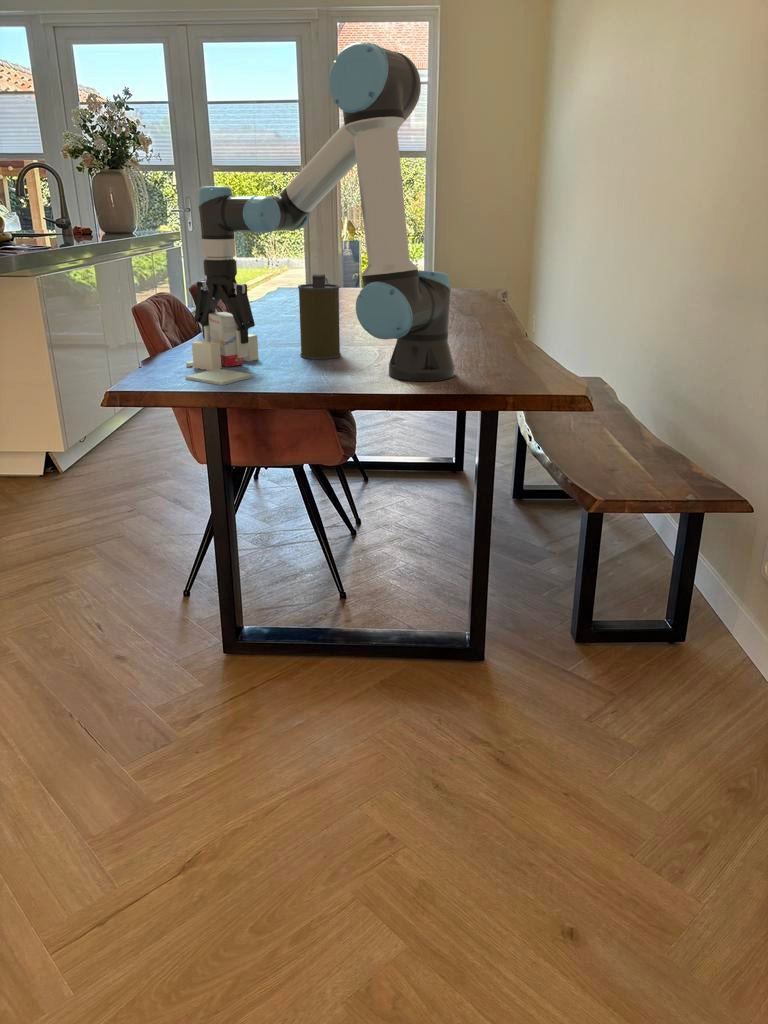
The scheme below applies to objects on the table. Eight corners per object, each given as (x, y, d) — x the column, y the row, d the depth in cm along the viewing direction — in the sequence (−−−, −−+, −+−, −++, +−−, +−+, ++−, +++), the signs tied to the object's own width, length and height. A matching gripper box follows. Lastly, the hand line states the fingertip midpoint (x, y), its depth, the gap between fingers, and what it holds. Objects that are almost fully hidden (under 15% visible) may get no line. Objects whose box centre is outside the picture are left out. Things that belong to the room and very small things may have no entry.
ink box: (244, 365, 185) (241, 315, 180) (224, 367, 182) (220, 317, 177) (229, 359, 191) (226, 311, 187) (210, 361, 189) (206, 312, 184)
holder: (258, 359, 192) (257, 335, 189) (212, 370, 179) (210, 345, 176) (233, 355, 196) (231, 331, 193) (186, 366, 183) (184, 341, 180)
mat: (252, 376, 173) (252, 374, 173) (222, 385, 165) (222, 382, 165) (216, 371, 178) (216, 368, 178) (185, 379, 170) (185, 376, 170)
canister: (339, 359, 192) (338, 277, 184) (298, 359, 192) (295, 276, 184) (341, 351, 202) (340, 272, 194) (302, 351, 202) (299, 272, 194)
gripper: (267, 259, 175) (272, 357, 183) (196, 255, 186) (203, 347, 194) (245, 261, 169) (251, 362, 178) (173, 257, 180) (182, 352, 188)
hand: (226, 354), depth 186 cm, fingers closed on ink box, 10 cm apart
